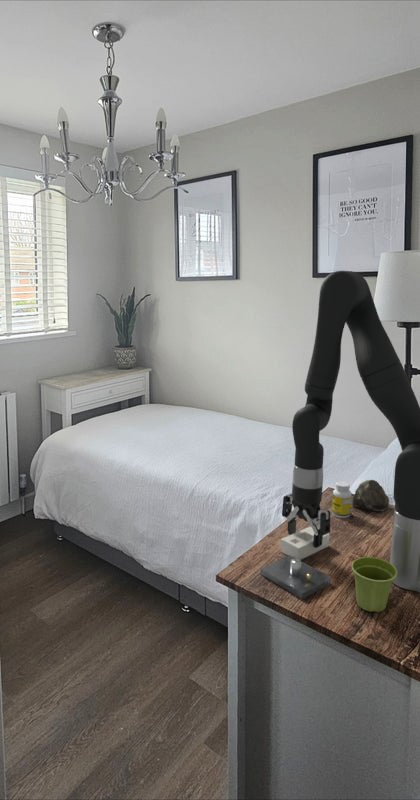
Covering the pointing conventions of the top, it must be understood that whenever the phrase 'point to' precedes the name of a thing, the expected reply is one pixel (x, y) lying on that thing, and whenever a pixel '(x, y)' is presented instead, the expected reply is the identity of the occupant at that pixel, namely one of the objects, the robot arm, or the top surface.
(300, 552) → the white block with recesses
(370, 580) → the plant pot
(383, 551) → the top surface
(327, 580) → the base plate
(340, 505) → the supplement bottle
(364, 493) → the fossil
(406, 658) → the top surface
